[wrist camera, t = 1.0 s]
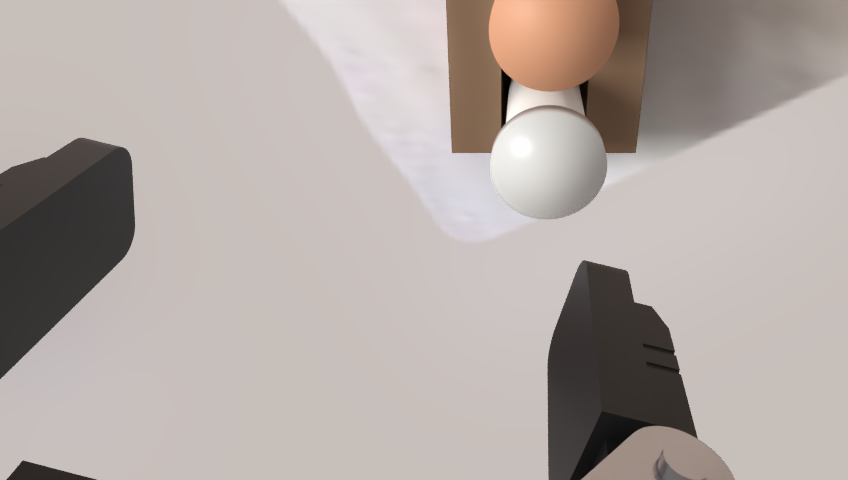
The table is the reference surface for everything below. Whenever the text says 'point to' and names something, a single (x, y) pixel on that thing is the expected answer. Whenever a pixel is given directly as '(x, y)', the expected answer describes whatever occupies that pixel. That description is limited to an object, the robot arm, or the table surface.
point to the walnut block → (601, 94)
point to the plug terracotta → (553, 40)
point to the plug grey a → (547, 154)
